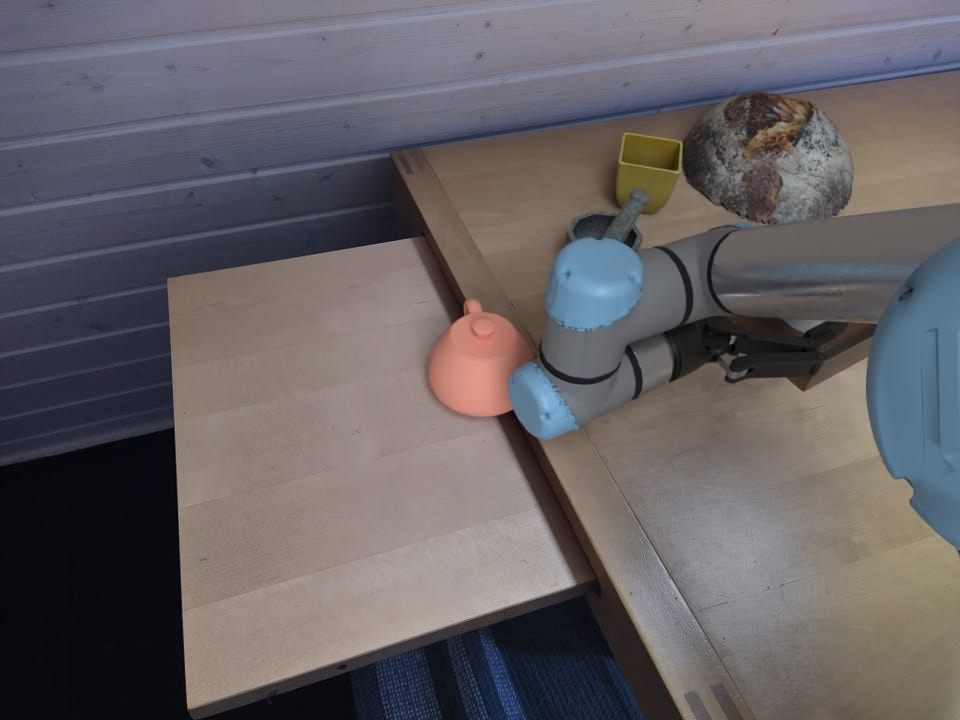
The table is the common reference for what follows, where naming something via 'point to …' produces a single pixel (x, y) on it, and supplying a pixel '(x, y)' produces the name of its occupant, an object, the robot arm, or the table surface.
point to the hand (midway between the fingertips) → (798, 283)
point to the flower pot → (648, 168)
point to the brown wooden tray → (838, 356)
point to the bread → (770, 159)
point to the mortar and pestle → (612, 223)
